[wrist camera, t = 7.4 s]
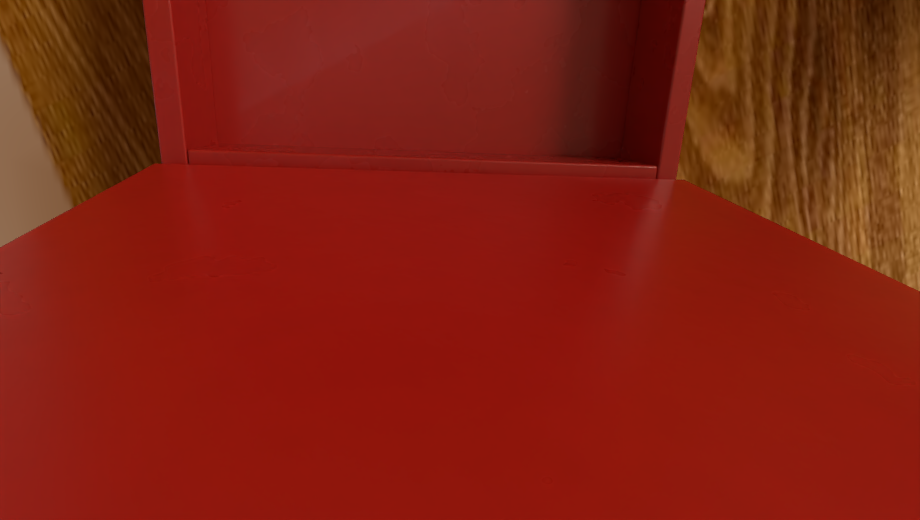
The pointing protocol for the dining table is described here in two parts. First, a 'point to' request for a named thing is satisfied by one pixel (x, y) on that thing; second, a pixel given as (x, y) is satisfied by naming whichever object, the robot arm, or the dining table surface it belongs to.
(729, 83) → the dining table surface
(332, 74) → the red box base
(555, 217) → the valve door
